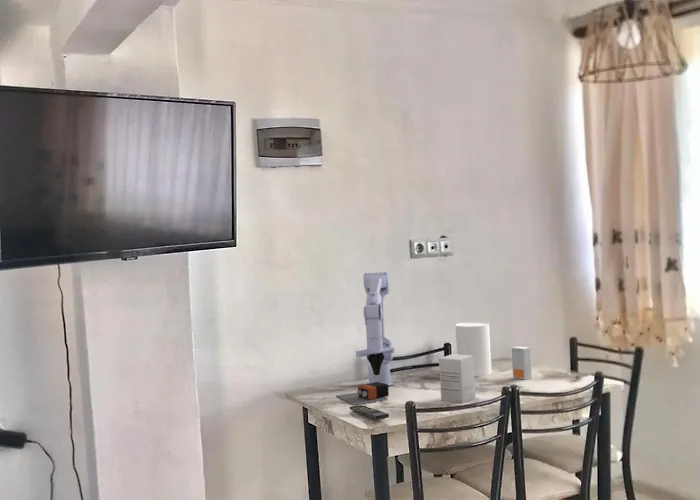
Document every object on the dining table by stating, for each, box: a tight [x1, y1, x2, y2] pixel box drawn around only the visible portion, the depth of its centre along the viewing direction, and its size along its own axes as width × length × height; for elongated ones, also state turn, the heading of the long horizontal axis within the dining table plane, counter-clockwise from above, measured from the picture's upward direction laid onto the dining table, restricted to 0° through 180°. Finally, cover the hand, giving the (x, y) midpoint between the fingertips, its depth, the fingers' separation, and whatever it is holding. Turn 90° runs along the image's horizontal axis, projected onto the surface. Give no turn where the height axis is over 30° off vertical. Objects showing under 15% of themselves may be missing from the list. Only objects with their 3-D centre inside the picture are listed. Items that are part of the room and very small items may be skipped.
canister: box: [455, 321, 492, 377], centre depth 296 cm, size 14×14×20 cm
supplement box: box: [438, 353, 476, 404], centre depth 251 cm, size 9×9×15 cm
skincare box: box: [511, 345, 532, 381], centre depth 281 cm, size 6×4×12 cm
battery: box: [356, 382, 389, 400], centre depth 261 cm, size 4×7×10 cm
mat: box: [335, 392, 388, 406], centre depth 261 cm, size 17×13×1 cm
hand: (376, 374), depth 263 cm, fingers closed
